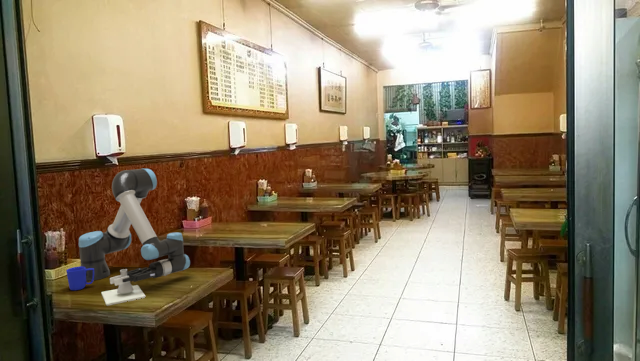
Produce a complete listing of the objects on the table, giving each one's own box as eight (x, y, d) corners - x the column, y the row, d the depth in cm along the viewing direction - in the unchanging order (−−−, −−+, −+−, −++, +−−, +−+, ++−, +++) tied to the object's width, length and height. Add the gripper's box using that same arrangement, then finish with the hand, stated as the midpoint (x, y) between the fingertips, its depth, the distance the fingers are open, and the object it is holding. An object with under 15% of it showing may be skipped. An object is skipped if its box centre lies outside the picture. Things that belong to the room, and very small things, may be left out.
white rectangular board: (101, 293, 214) (101, 292, 214) (137, 286, 222) (137, 285, 222) (106, 305, 197) (106, 304, 197) (145, 297, 205) (145, 296, 205)
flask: (115, 294, 205) (113, 273, 204) (118, 289, 212) (116, 268, 211) (132, 293, 206) (130, 271, 205) (135, 288, 213) (133, 267, 212)
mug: (94, 288, 222) (92, 268, 221) (66, 292, 218) (64, 272, 217) (97, 284, 230) (95, 264, 229) (70, 287, 226) (68, 267, 225)
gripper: (170, 278, 217) (122, 293, 199) (151, 273, 228) (104, 287, 210) (168, 263, 217) (121, 276, 199) (149, 259, 227) (102, 271, 209)
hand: (112, 281), depth 204 cm, fingers closed on flask, 3 cm apart
